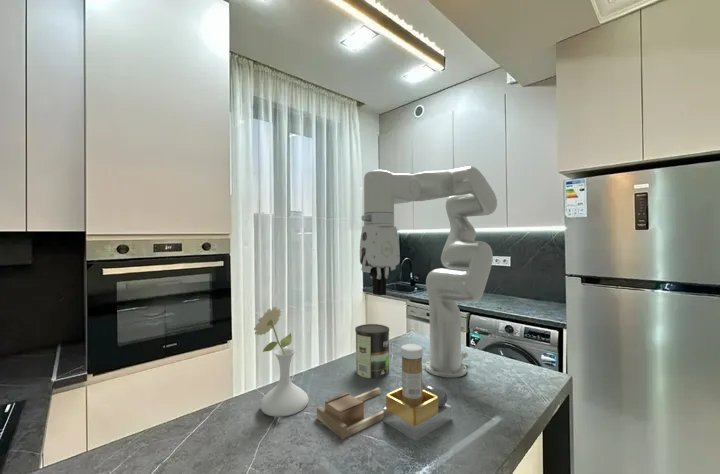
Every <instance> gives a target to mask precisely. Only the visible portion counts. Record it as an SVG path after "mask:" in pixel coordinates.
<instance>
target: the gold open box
mask: <svg viewBox="0 0 720 474" xmlns="http://www.w3.org/2000/svg"><path fill="white" fill-rule="evenodd" d="M422 384H423V394H422V404H420V405H418V406H417V407H415V408H413V407H411V406H409V405H407V404H405V403H403V401H402V387H399V388H397V389H395V390H393V391H391V392H388V393H386V395H385V407H383V409H382V410H383V415H384V419H383V422H384V423H386V424H387V425H388V426H390V427H392V428H394V429H395V430H397V431H398V432H400V433H401V434H403V435H404V436H406V437H407V438H409V439H411V440H412V441H414V442H417V441H419V440H420V439H422V438H423V437H425V436H426V435H428V434H430V433H431V432H433V431H435V430H436V429H438V428H440V427H441V426H443V425H445V424H447V423H448V422H449V421H451V420H452V405H450V404H447V401H448V395H447V392H446V391H444V390H441V389H440V388H437V387H434V386H431V384H428V383H425V382H423V381H422Z"/></svg>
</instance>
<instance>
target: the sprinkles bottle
mask: <svg viewBox="0 0 720 474" xmlns="http://www.w3.org/2000/svg"><path fill="white" fill-rule="evenodd" d="M400 356H401V388H402V401H403V403H405V404H407V405H409V406H411V407H413V408H415V407H417V406H418V405H420V404H422V394H423V384H422V382H423V367H422V366H423V363H422V362H423V361H422V360H423V347H422V346H421V345H419V344H415V343H412V344H411V343H407V344H403V345H401V347H400Z"/></svg>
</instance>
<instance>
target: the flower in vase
mask: <svg viewBox="0 0 720 474" xmlns="http://www.w3.org/2000/svg"><path fill="white" fill-rule="evenodd" d="M281 312H282V311H281V308H278V307H277V306H273V307H272V309H271V308H268V309H267V310H266V312H264V313H263V316H261V317H259V318H258V319H257V320H258V323H256V324H255V327H254V328H253V330H254V331H255V332H254V335H256V336H262V335H266V334H267V333H269V332H270V330H271V329H273V332H274V336H275V339H276V341H271V342H269V343H268V344H267V345H266V346H265V347H264V348H263V350H262V353H264V352H271V351H273V350H274V348H276V346H277V345H278V346H279V349H276V350H274V352H273V354H274V355H275V356H276V358H277V360H278V364H279V365H278V366H279V380H278V382H277V384H276V386H274V387H273V388H271V389H270V390H269V391H268V392H267V393H266V394H265V395H264V396H263V398H262V399H261V401H260V405H259V408H260V410H261V411H262V412H263V413H264V414H265V415H267V416H270V417H274V418H275V417H276V418H281V417H288V416H292V415H295V414H297V413H299V412H301V411H303V410H304V409H305V408H306V407H307V406H308V404H309V401H310V399H309V396H308V394H307V392H306V391H304V390H303V389H302V388H301V387H299V386H297V384H294V383H293V382H292V380H291V375H290V374H291V373H290V368H291V361H292V357H293V356H294V354H295V353H296V349H294V348H290V347H288V346H290V345H291V344H292V341H293V338H292V337H293V336H292V333H289V334H288V335H287V336H285V337H283V338H282V339H281V340H280V341H279V338H278V335H277V331H276V328H275V325H276V324H277V323H278V322H279V321H280V316H281Z"/></svg>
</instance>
